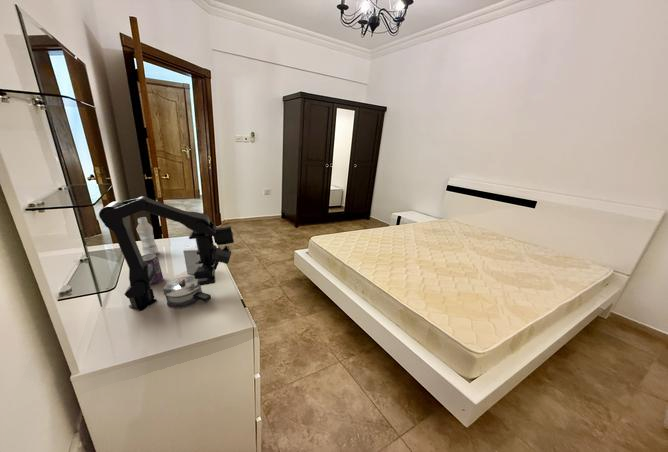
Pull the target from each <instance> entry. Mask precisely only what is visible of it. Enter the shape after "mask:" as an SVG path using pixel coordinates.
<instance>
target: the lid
mask: <svg viewBox="0 0 668 452" xmlns="http://www.w3.org/2000/svg"><path fill="white" fill-rule="evenodd" d="M165 284H166V285H164V287H163V289H162V292H163V294H164V296H165V297H166V296H167V297H171V298H178V297H183V296H187V295H189V294H192V293H193V292H195V291H197V290H198V289H199V288H200V286H201V287H202V286H207V285H213V284H216V276H213V277H211V278H203V279H195V277H194V275H187V276H182V277H178V278H176V279H175V278H174V279H173V280H171V281H169V282H168V283H165Z"/></svg>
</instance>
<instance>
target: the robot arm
mask: <svg viewBox="0 0 668 452" xmlns="http://www.w3.org/2000/svg"><path fill="white" fill-rule="evenodd" d="M139 212H145V213H148V214H150V215H151V214H153V215H155V216H158V217H161V218H164V219H168V220H171V221H174V222H177V223H180V224H181V225H183V226H184V227H186V228H187V229H189V230H191V231H192V232H191V233H190V234H189V236H188V239H189V240H194V239H195V243H196V246H197V248H198V251H197V255H199V257H200V260H199V264H202V267H198V268H197V269H196V271H195V273H194V274H193V276H194V277H195V279H203V278H211V277H213V276H215V275H216V274H215V273H216V270H217V269H218V266H219V263H223V264H225V265H226V264H227V265H228V264H229V262H230V259H231V255H232V250H231V249H230V246H229V244H234V243H235V239H234V234H233V233H234V232H233V229H232V226H231V225H229V226H224V227H223V226H222V227H217V224H215V223H213V222H212V221H211V220H210V216H209V215H208V214H206V213H203V212H197V211H187V210H183V209H180V208H178V207H174V206H171V205H169V204H166V203H164V202H163V203H162V202H160V201H158V200H155V199H152V198H149V197H147V196H143V195H142V196H139V197H137V198H133V199H127V200H124V201H112V202H110V203H108V204H107V205H106V206H104V207H102V208H101V209H100V211H99V213H98V217H99V219H100V221H102V223H103V224H104V226H105V227H106V228H108V230H110V231H111V232H112V233H113V234H114V236H115V239H116V241H117V244H118V247H119V248H120V251H121V253H122V255H123V257H124V259H125V262H126V265H127V266H128V269H129V270H128V280H129V286H128V287H127V289H126V291H125V292H124V296H126V298H127V299H128V300H129V302H130V304H129V305H128V307H129V308H130V309H133V310H136V311H139V312H142V311H143V310H145V309H147V308H148V307H150V306H152V305H153V304H154V303H156V302H157V301H158V300H157V298H155V294H154V291H153V289H152V288H151V287H152V286H151V285H150V284H151V282H152V280H153V278H154V274H155V271H154V269H153V265H152V264H149V265H147V264H146V263H145V262H144V261H143V258H142V256H143V255H142V254H141V251H140V249H139V246H138V244H137V241H136V239H135V235H134V234H133V231H132V228H131V216H133V215H134V214H137V213H139ZM214 243H215V244H214ZM217 245H218V246H222V245H224V246H223V248H220V247H217ZM227 245H228V246H227ZM215 277H216V276H215Z"/></svg>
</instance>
